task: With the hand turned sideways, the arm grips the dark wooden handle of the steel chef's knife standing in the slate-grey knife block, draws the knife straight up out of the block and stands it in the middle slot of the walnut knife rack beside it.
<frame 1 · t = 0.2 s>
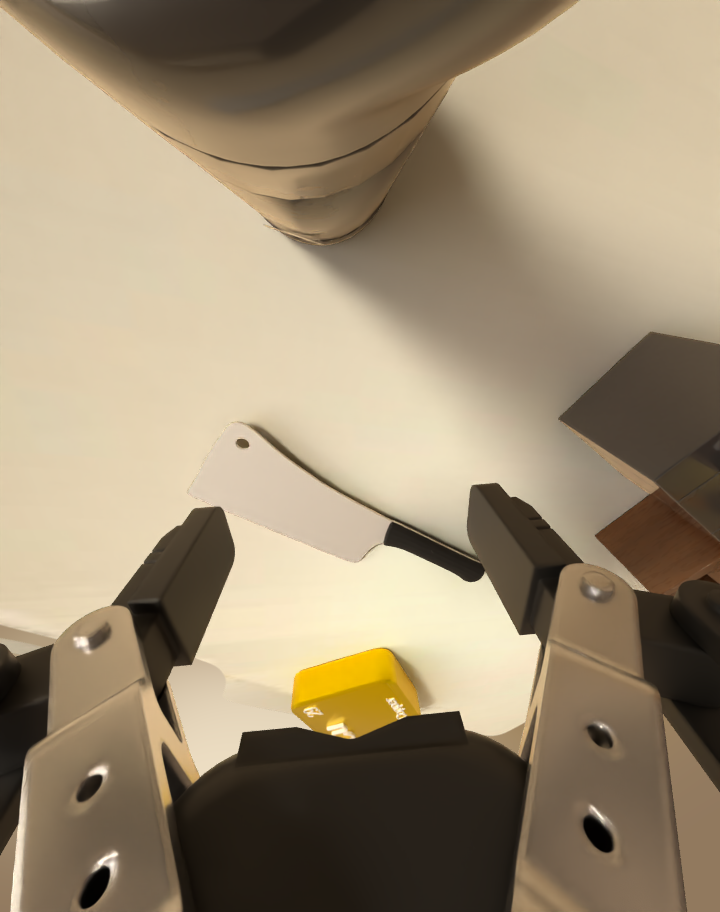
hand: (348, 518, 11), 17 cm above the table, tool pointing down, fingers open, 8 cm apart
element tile: (357, 681, 49), on the table
kitchen cleaver: (354, 523, 33), on the table
knife rack: (679, 503, 35), on the table
knife block: (635, 412, 29), on the table
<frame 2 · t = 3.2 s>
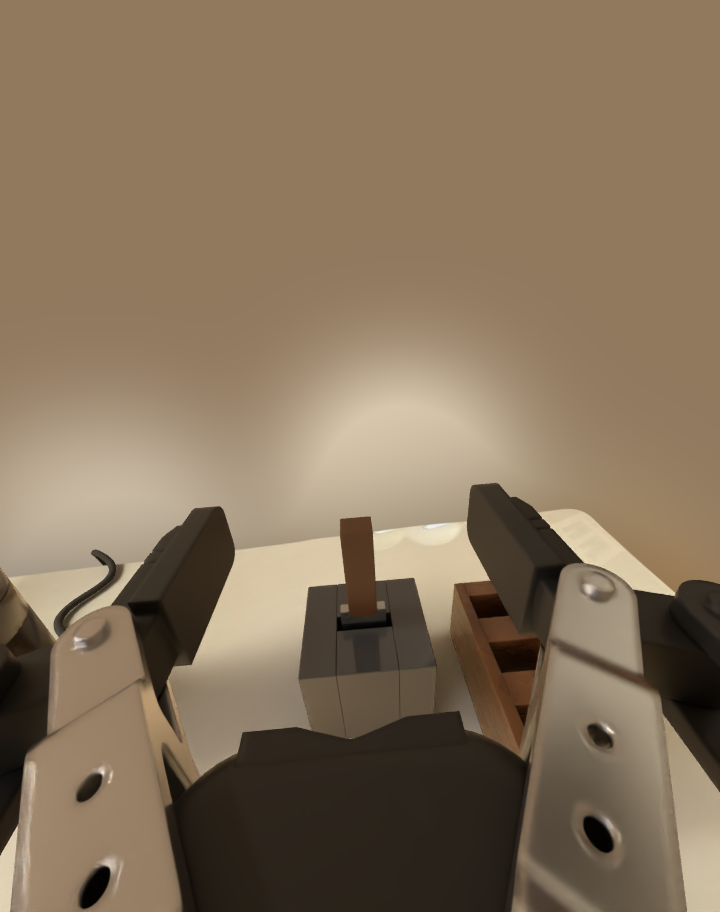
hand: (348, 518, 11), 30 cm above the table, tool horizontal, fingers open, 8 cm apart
chef knife: (363, 617, 29), in the knife block
knife rack: (514, 704, 31), on the table
knife block: (369, 684, 34), on the table
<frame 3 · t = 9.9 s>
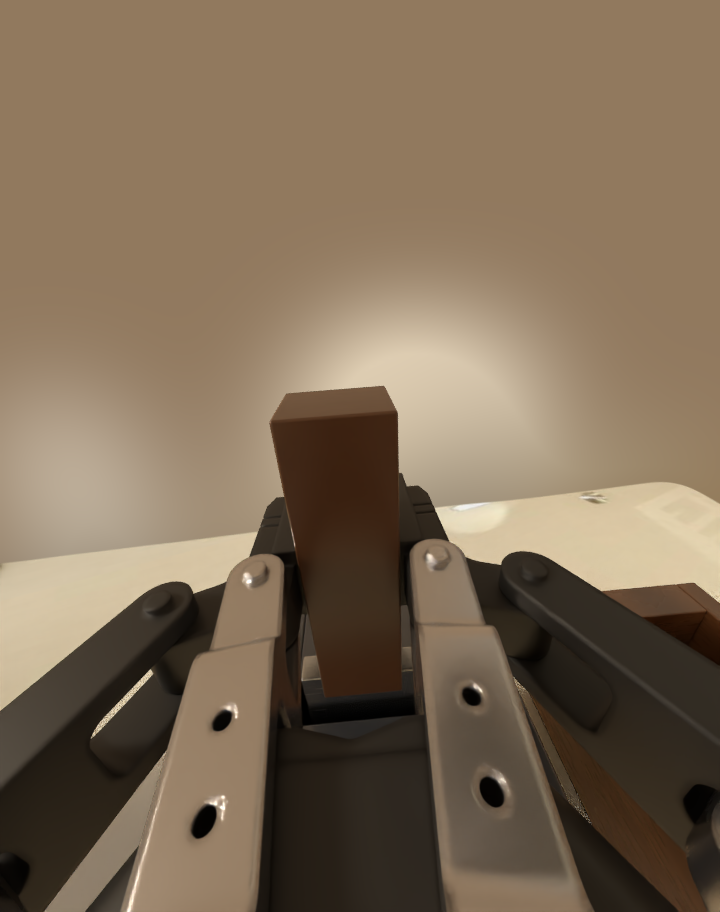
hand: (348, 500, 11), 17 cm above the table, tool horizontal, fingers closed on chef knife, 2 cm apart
chef knife: (364, 688, 11), in the knife block, touching gripper
knife rack: (715, 877, 14), on the table
knife block: (377, 810, 16), on the table
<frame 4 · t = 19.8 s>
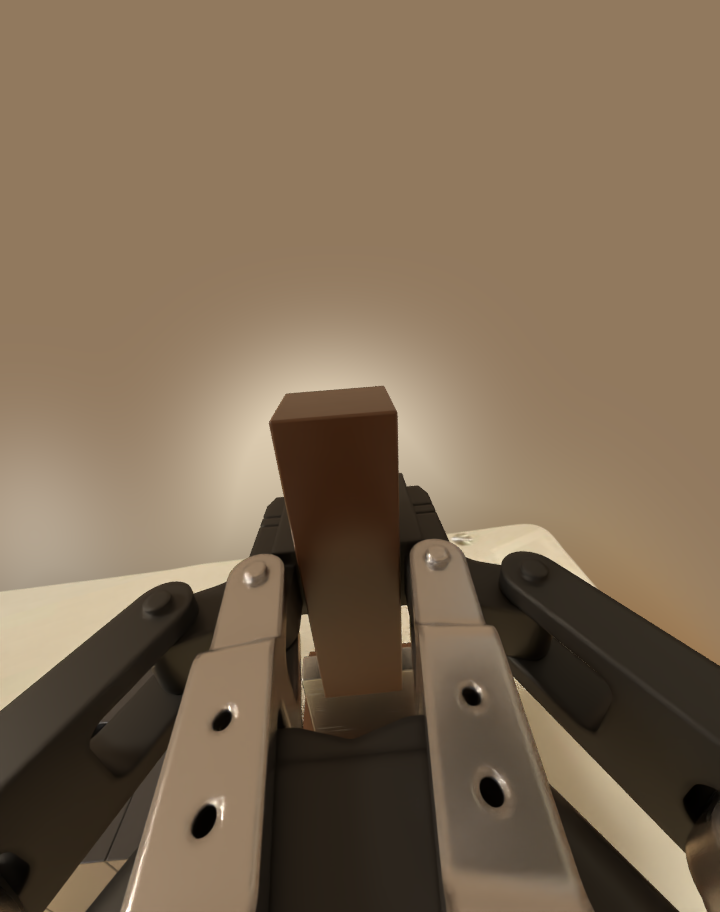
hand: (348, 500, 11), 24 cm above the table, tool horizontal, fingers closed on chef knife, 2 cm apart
chef knife: (364, 688, 11), point 18 cm above the table, touching gripper
knife block: (172, 811, 22), on the table
when the fingers open (16 cm above the table, at t = 22.6 s): chef knife stays where it is, resting in knife rack.
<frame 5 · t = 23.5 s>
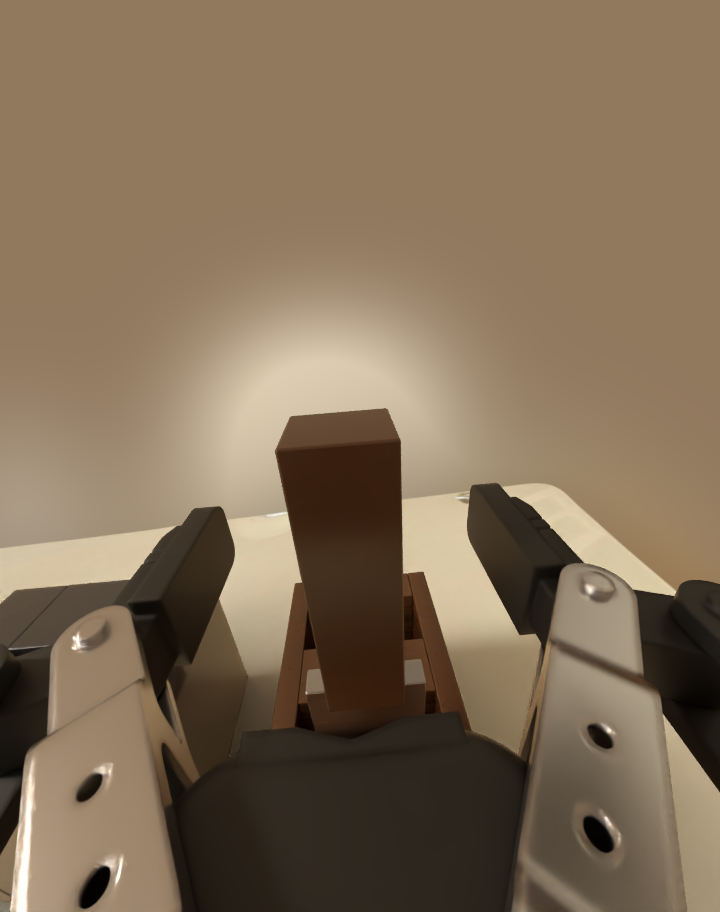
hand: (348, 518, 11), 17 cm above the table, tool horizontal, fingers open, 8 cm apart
chef knife: (367, 700, 12), in the knife rack
knife rack: (378, 815, 16), on the table
knife block: (133, 766, 19), on the table
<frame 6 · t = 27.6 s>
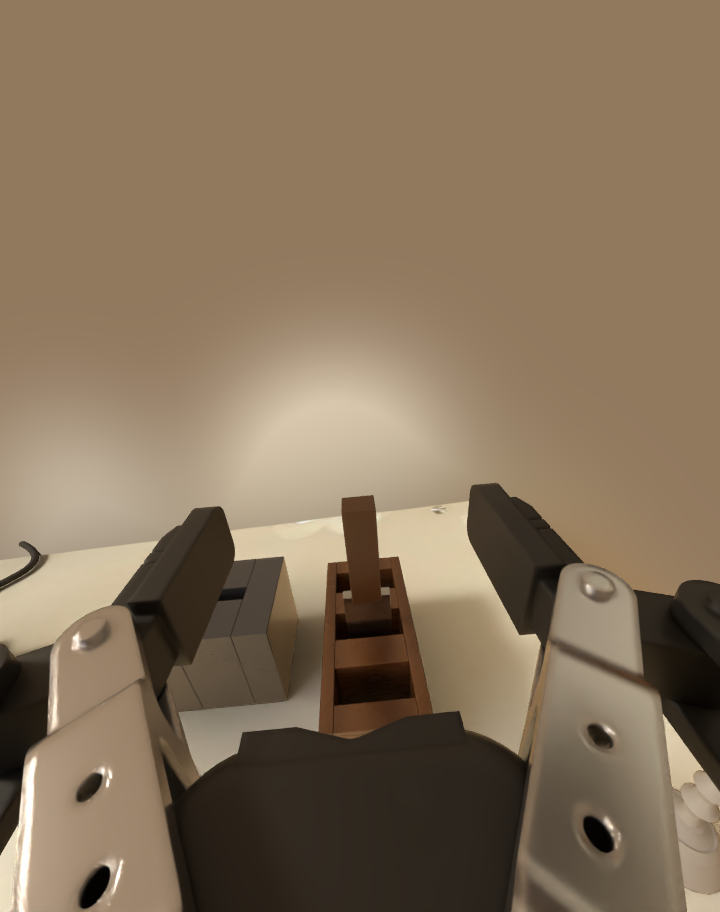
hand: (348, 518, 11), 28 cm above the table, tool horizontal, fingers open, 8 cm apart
chef knife: (367, 604, 28), in the knife rack
chalice: (671, 833, 22), on the table
knife rack: (373, 676, 33), on the table
knife block: (242, 660, 35), on the table
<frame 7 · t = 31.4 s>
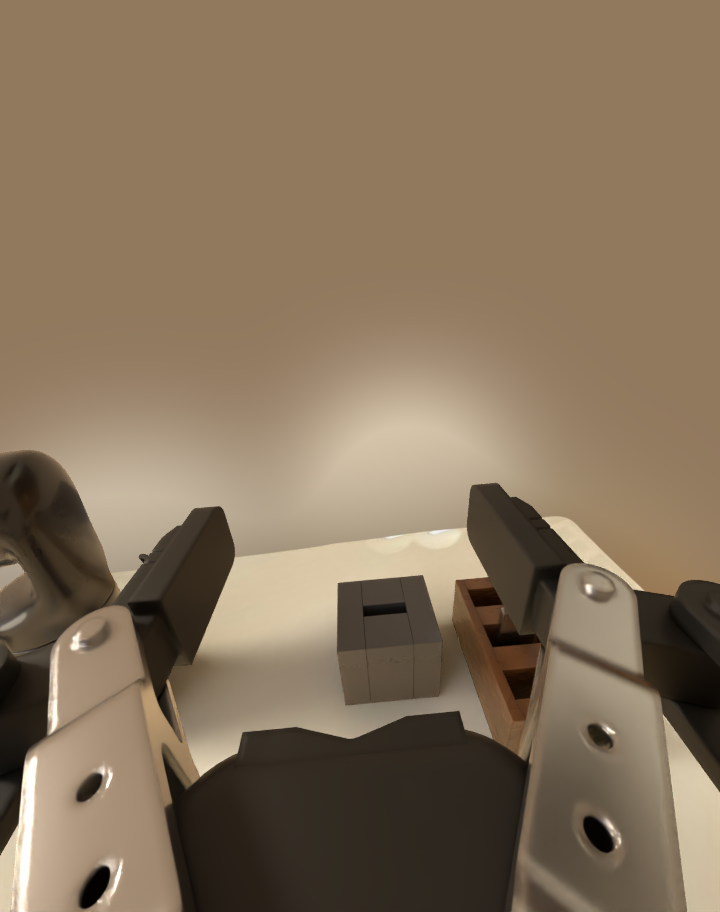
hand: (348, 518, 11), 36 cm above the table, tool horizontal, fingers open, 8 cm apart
chef knife: (518, 618, 35), in the knife rack
knife rack: (505, 676, 39), on the table
knife block: (387, 662, 42), on the table
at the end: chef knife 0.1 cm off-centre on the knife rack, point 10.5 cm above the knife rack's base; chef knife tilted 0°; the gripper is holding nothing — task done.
